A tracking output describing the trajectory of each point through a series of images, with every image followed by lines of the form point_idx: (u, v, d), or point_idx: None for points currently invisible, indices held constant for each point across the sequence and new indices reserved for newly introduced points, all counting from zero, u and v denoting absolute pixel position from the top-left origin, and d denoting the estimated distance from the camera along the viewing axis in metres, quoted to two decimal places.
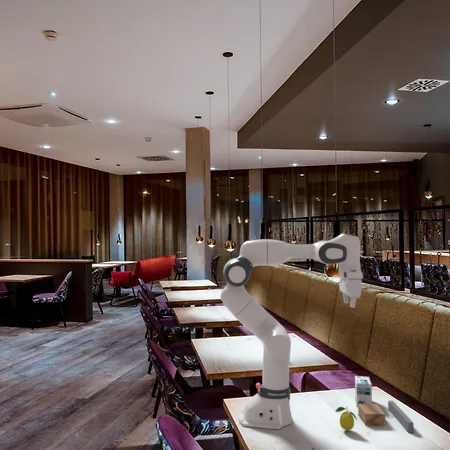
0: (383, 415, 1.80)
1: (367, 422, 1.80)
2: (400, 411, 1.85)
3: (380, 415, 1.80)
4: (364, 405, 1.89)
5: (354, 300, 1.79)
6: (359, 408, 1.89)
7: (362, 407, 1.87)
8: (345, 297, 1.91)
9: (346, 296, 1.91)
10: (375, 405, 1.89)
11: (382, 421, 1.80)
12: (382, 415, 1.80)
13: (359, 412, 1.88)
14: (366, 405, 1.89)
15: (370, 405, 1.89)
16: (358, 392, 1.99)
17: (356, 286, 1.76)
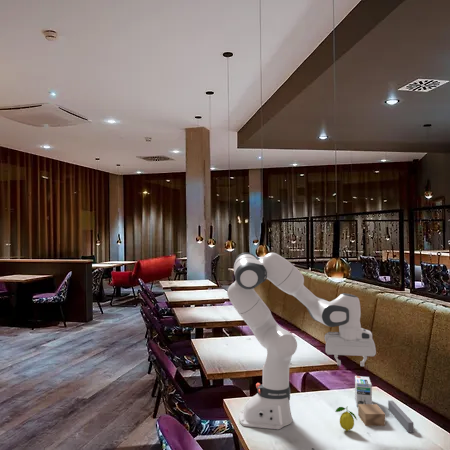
0: (383, 415, 1.80)
1: (368, 422, 1.80)
2: (400, 411, 1.85)
3: (380, 415, 1.80)
4: (364, 405, 1.89)
5: None
6: (359, 408, 1.89)
7: (362, 407, 1.87)
8: (337, 359, 1.86)
9: (337, 358, 1.87)
10: (375, 405, 1.89)
11: (382, 421, 1.80)
12: (382, 415, 1.80)
13: (359, 412, 1.88)
14: (366, 405, 1.89)
15: (370, 405, 1.89)
16: (358, 392, 1.99)
17: None
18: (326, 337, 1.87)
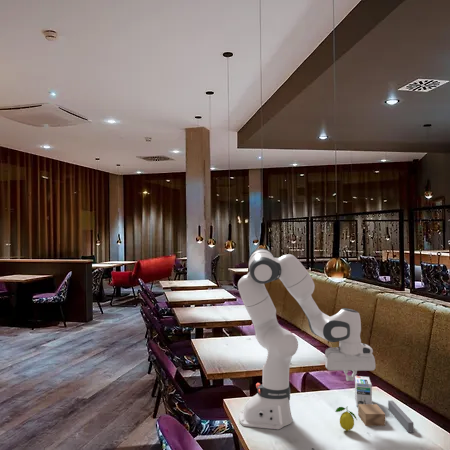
0: (383, 415, 1.80)
1: (368, 422, 1.80)
2: (400, 411, 1.85)
3: (380, 415, 1.80)
4: (364, 405, 1.89)
5: None
6: (359, 408, 1.89)
7: (362, 407, 1.87)
8: None
9: (346, 373, 1.86)
10: (375, 405, 1.89)
11: (382, 421, 1.80)
12: (382, 415, 1.80)
13: (359, 412, 1.88)
14: (366, 405, 1.89)
15: (370, 405, 1.89)
16: (358, 392, 1.99)
17: None
18: (327, 353, 1.85)
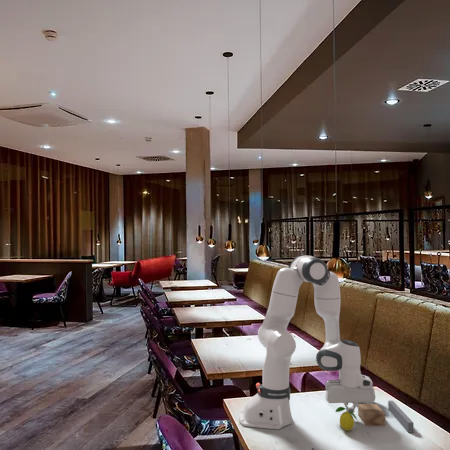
0: (383, 415, 1.80)
1: (368, 422, 1.80)
2: (400, 411, 1.85)
3: (381, 415, 1.80)
4: (364, 405, 1.89)
5: None
6: (358, 408, 1.89)
7: (362, 407, 1.87)
8: (347, 407, 1.86)
9: (346, 405, 1.86)
10: (375, 405, 1.89)
11: (382, 421, 1.80)
12: (382, 415, 1.80)
13: (359, 412, 1.88)
14: (366, 405, 1.89)
15: (370, 405, 1.89)
16: None
17: None
18: (327, 385, 1.86)
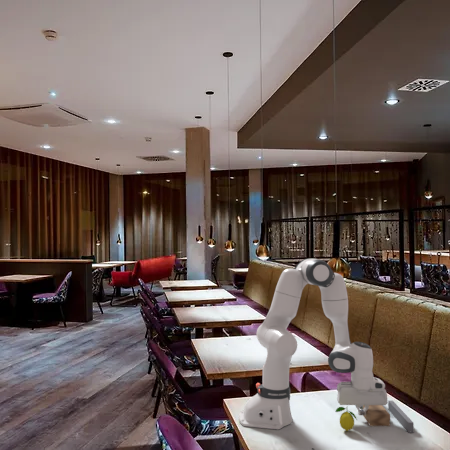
0: (388, 415, 1.80)
1: (372, 422, 1.80)
2: (400, 411, 1.85)
3: (385, 415, 1.80)
4: (369, 405, 1.89)
5: None
6: None
7: None
8: (359, 409, 1.85)
9: (358, 407, 1.86)
10: (380, 405, 1.89)
11: (386, 422, 1.80)
12: (387, 416, 1.80)
13: None
14: (371, 405, 1.89)
15: (375, 405, 1.89)
16: None
17: None
18: (339, 387, 1.85)
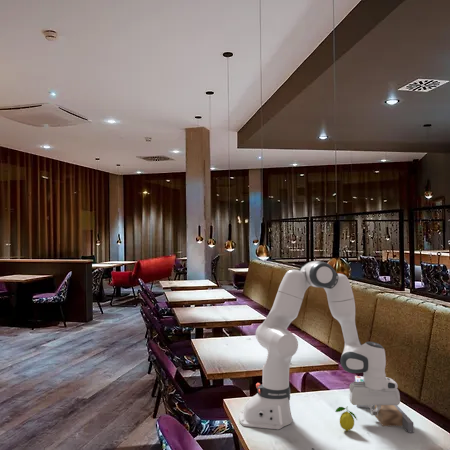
0: (400, 415, 1.80)
1: (385, 422, 1.80)
2: (400, 411, 1.85)
3: (398, 415, 1.80)
4: (381, 405, 1.89)
5: None
6: None
7: None
8: None
9: None
10: (392, 405, 1.89)
11: (399, 422, 1.80)
12: (399, 416, 1.80)
13: None
14: (383, 405, 1.89)
15: (387, 405, 1.89)
16: None
17: None
18: (351, 387, 1.85)
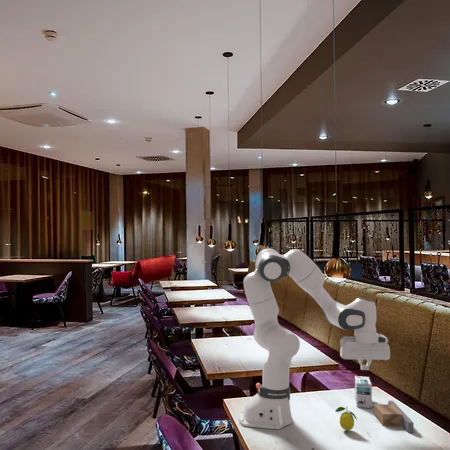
0: (400, 415, 1.80)
1: (385, 422, 1.80)
2: (400, 411, 1.85)
3: (398, 415, 1.80)
4: (380, 405, 1.89)
5: None
6: (375, 409, 1.89)
7: (379, 407, 1.87)
8: (362, 364, 1.85)
9: None
10: (391, 405, 1.89)
11: (399, 421, 1.80)
12: (399, 416, 1.80)
13: (376, 412, 1.88)
14: (382, 405, 1.89)
15: (386, 405, 1.89)
16: (358, 392, 1.99)
17: None
18: (342, 342, 1.86)
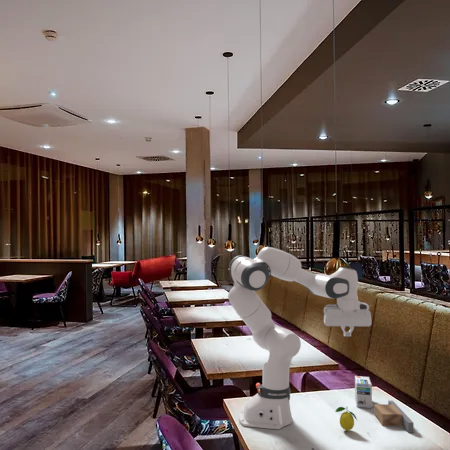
0: (400, 415, 1.80)
1: (384, 422, 1.80)
2: (400, 411, 1.85)
3: (397, 415, 1.80)
4: (380, 405, 1.89)
5: None
6: (375, 409, 1.89)
7: (378, 407, 1.87)
8: (344, 330, 1.93)
9: None
10: (391, 405, 1.89)
11: (399, 421, 1.80)
12: (399, 416, 1.80)
13: (376, 412, 1.88)
14: (383, 405, 1.89)
15: (386, 405, 1.89)
16: (358, 392, 1.99)
17: None
18: (325, 309, 1.93)
